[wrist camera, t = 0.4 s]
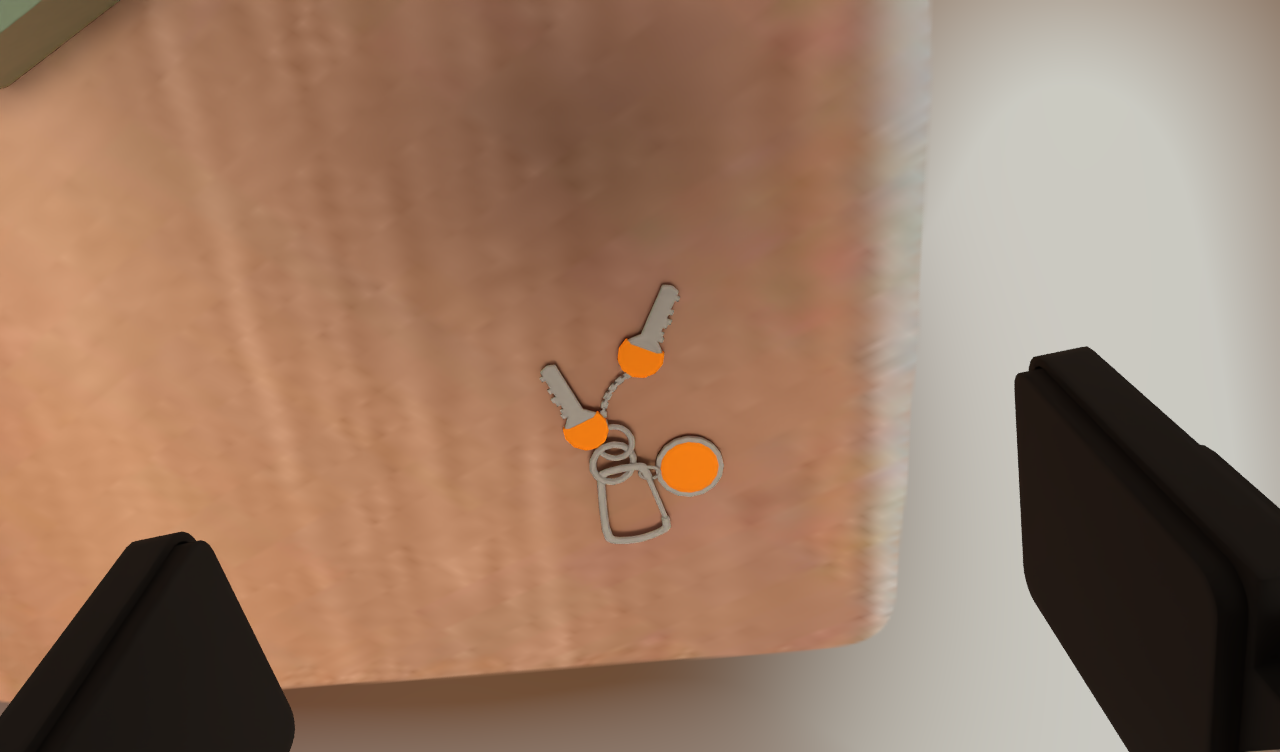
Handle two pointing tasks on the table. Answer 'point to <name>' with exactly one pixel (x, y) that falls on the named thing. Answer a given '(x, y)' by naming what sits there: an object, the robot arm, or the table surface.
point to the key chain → (679, 463)
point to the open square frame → (40, 30)
